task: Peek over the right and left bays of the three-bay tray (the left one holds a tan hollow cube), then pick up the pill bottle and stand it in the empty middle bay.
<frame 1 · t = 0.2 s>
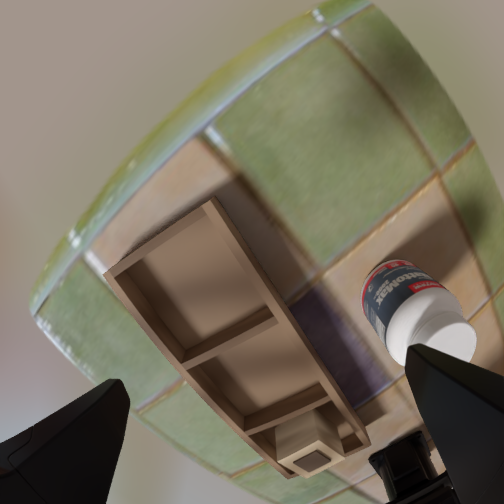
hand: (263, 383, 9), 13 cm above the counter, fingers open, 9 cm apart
tan hollow cube: (306, 427, 25), point 1 cm above the counter, touching bay tray
bay tray: (259, 365, 24), on the counter
pill bottle: (390, 290, 22), on the counter
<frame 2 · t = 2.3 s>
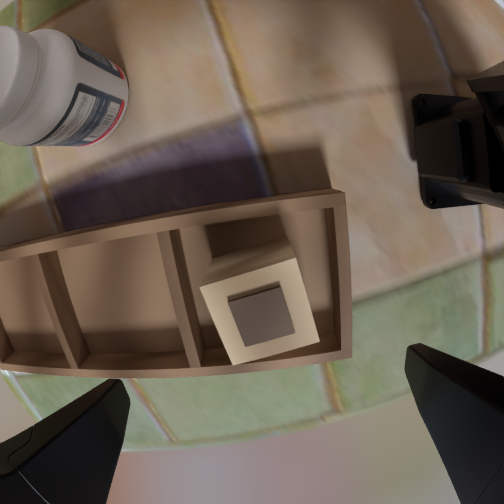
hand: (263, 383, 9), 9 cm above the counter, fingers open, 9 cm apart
tan hollow cube: (261, 282, 17), point 1 cm above the counter, touching bay tray
bay tray: (125, 294, 18), on the counter
pill bottle: (91, 103, 15), on the counter
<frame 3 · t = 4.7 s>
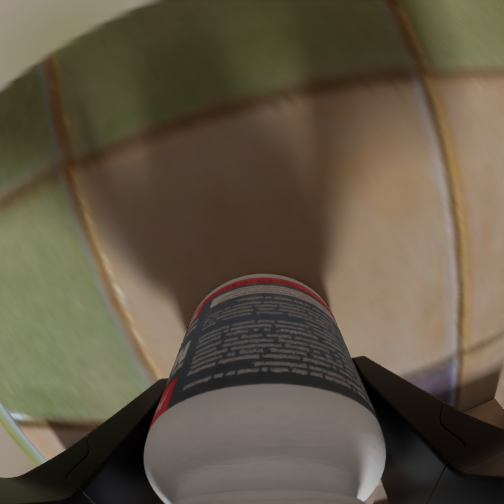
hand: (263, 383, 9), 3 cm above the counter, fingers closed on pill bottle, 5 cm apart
bay tray: (287, 496, 14), on the counter
pill bottle: (262, 336, 11), on the counter, touching gripper
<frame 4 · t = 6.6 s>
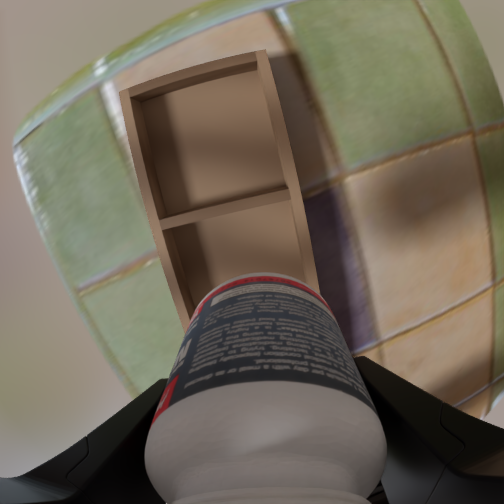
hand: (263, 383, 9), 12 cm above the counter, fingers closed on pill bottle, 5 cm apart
bay tray: (242, 264, 21), on the counter
pill bottle: (262, 335, 11), point 10 cm above the counter, touching gripper
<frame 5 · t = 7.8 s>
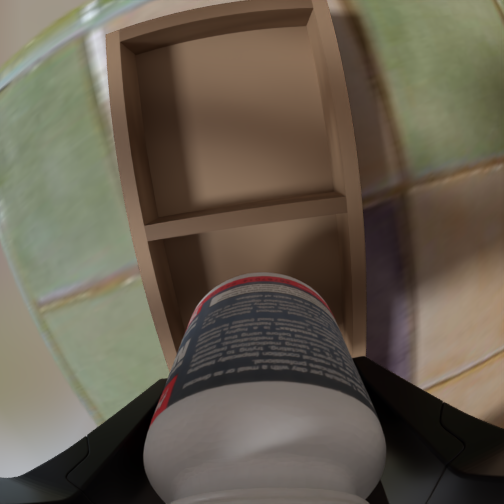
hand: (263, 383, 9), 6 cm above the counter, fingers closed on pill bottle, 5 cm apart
bay tray: (259, 294, 15), on the counter
pill bottle: (261, 335, 11), point 4 cm above the counter, touching gripper
when the fingers open (4 cm above the counter, at t = 8.6 s): pill bottle stays where it is, resting on bay tray.
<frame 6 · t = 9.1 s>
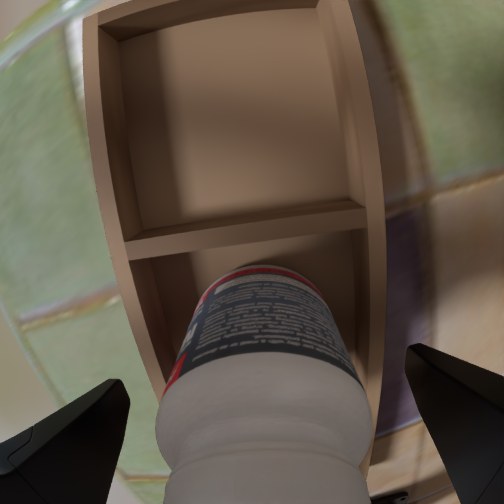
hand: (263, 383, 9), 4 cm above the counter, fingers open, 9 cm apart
bay tray: (261, 318, 13), on the counter
pill bottle: (261, 323, 12), resting on bay tray
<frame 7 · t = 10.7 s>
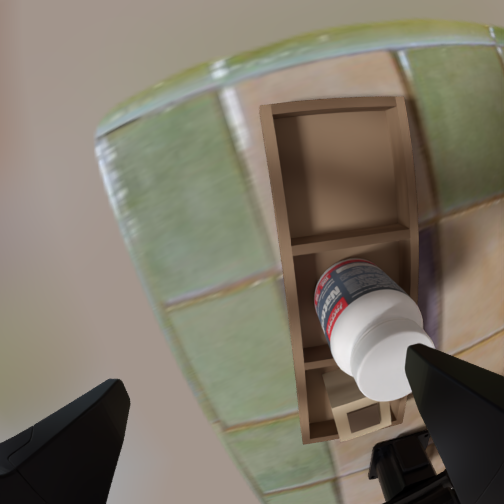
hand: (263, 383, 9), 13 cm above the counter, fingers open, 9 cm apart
tan hollow cube: (351, 384, 23), point 1 cm above the counter, touching bay tray
bay tray: (347, 290, 22), on the counter
pill bottle: (349, 292, 21), resting on bay tray
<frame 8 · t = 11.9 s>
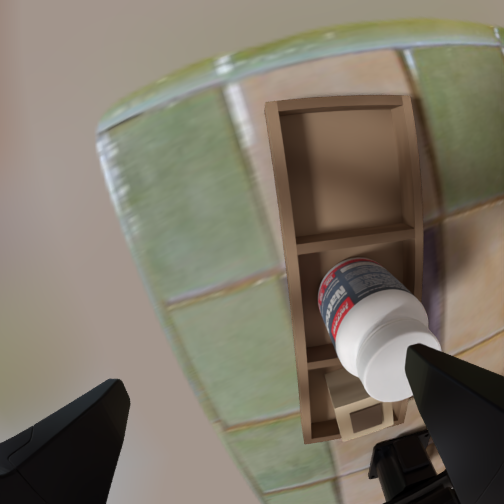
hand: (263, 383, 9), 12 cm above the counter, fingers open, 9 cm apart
tan hollow cube: (353, 384, 23), point 1 cm above the counter, touching bay tray
bay tray: (351, 289, 21), on the counter
pill bottle: (353, 292, 21), resting on bay tray
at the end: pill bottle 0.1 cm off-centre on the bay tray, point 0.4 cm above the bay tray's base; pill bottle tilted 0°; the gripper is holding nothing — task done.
